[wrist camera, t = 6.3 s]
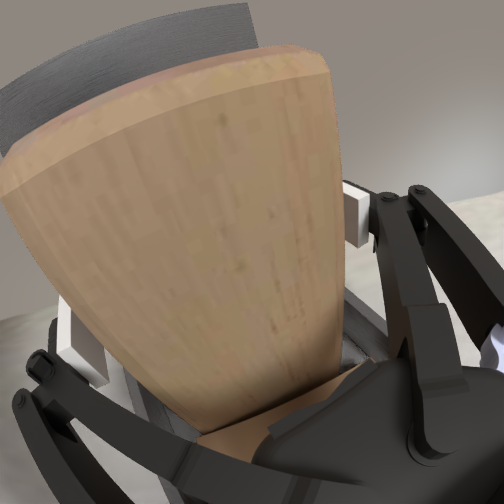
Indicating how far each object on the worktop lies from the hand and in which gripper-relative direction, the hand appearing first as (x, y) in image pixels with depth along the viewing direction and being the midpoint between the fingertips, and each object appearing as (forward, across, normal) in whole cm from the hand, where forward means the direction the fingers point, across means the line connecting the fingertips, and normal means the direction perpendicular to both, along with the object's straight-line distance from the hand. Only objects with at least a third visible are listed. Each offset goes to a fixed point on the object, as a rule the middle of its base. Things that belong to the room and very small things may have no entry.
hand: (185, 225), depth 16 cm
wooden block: (-3, 0, -12) cm, 13 cm away
